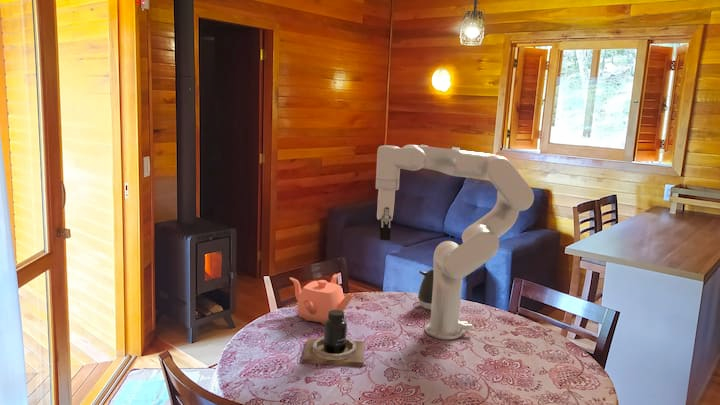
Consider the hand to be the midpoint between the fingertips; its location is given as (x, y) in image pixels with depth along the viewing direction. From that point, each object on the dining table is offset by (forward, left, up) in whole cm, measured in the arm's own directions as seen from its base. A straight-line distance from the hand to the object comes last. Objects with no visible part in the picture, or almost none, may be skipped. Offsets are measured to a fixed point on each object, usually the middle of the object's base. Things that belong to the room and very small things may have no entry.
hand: (384, 235), depth 175 cm
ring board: (+14, +18, -33) cm, 40 cm away
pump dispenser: (-20, -24, -34) cm, 46 cm away
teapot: (+21, -9, -34) cm, 41 cm away
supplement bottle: (+14, +18, -32) cm, 39 cm away
